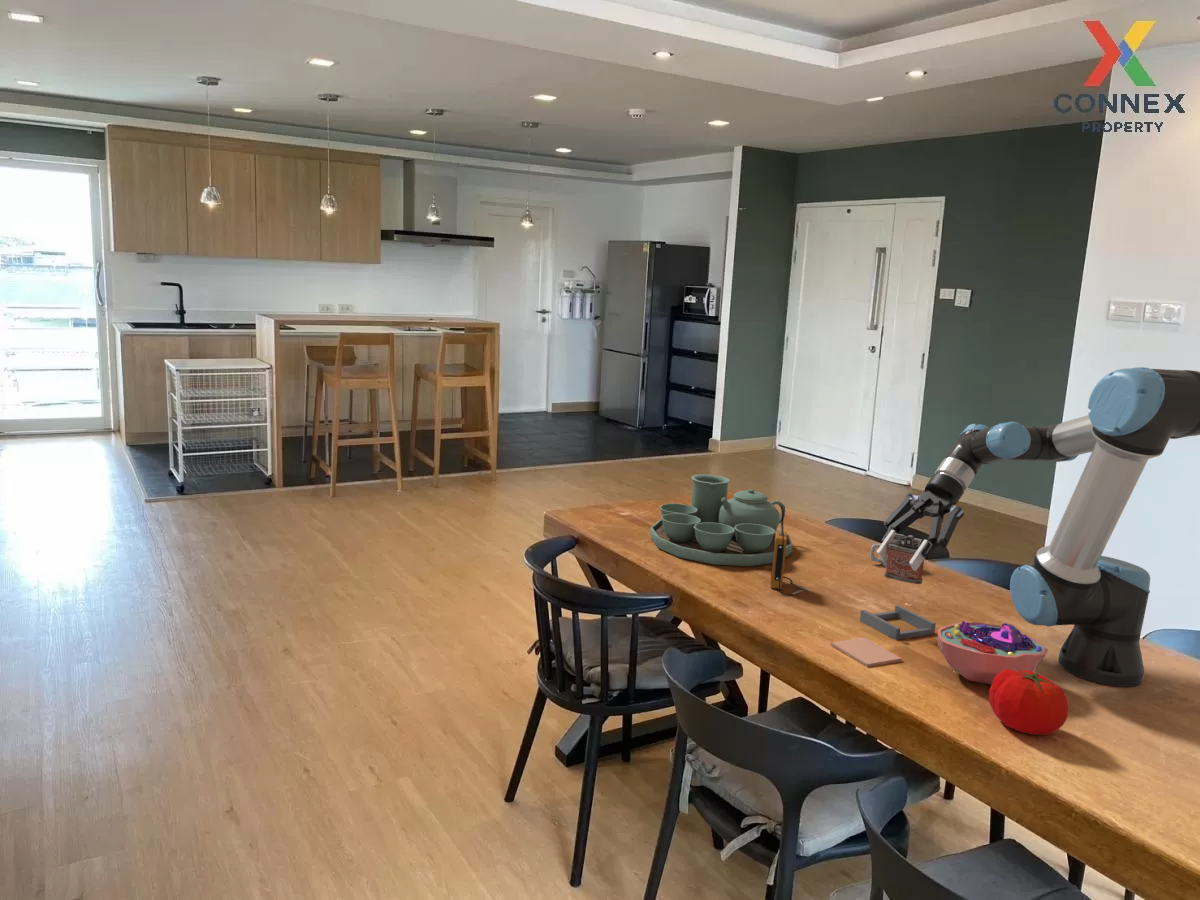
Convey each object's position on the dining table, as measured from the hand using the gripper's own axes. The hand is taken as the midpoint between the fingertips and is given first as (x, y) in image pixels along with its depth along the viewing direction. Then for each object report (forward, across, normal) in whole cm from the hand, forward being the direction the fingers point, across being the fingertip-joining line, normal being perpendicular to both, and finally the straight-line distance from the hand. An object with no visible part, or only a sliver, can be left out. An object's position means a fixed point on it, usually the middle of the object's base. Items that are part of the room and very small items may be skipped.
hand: (895, 561), depth 191 cm
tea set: (+4, +64, -18) cm, 67 cm away
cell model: (+14, -25, -9) cm, 30 cm away
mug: (-17, +30, -40) cm, 53 cm away
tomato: (+23, -40, 0) cm, 46 cm away
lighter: (+1, 0, -6) cm, 6 cm away
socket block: (+9, 0, -14) cm, 16 cm away
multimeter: (+10, +30, -12) cm, 34 cm away
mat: (+22, -6, -1) cm, 23 cm away
